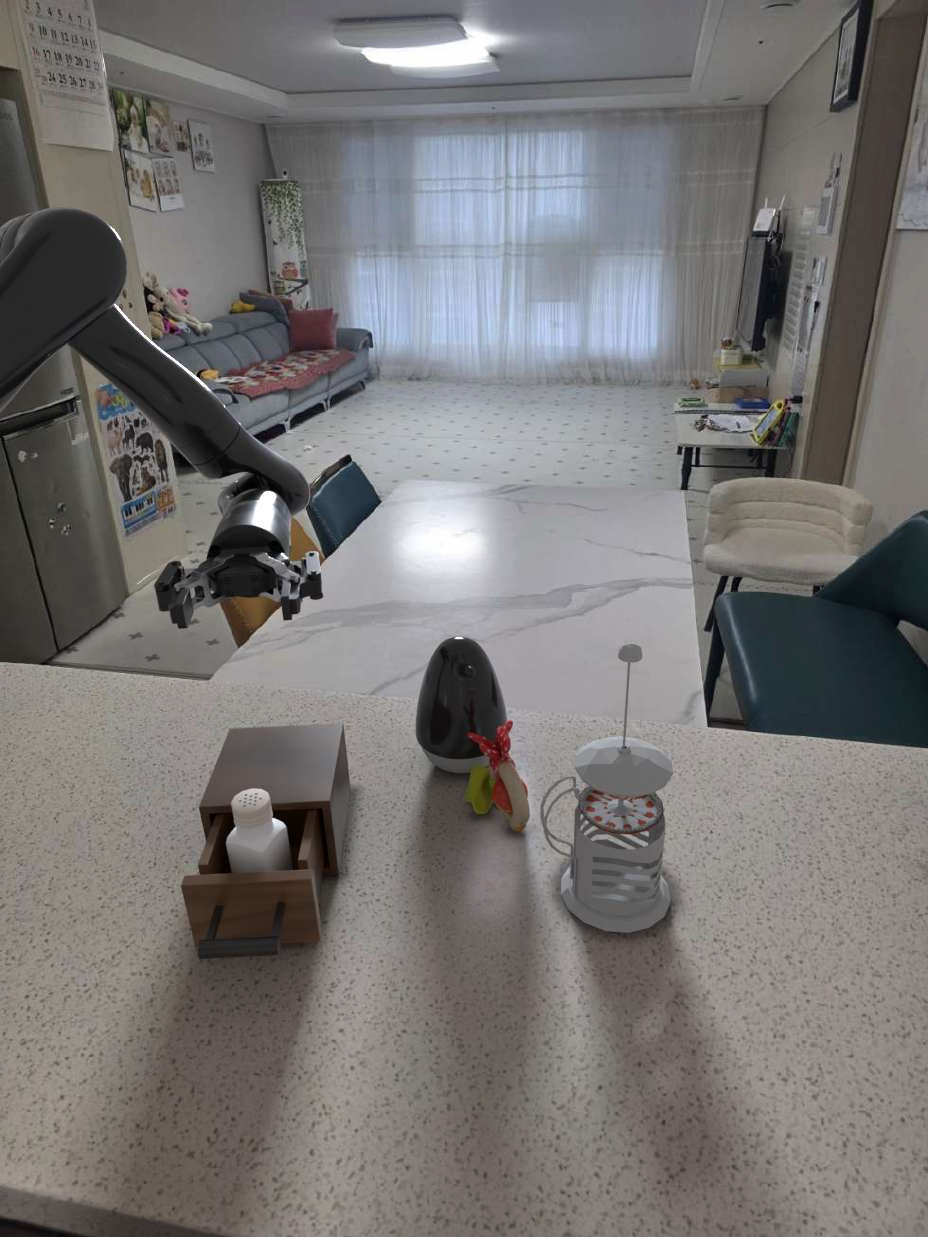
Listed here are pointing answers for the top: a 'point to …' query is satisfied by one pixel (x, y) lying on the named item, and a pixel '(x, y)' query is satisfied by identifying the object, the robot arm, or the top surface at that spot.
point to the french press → (617, 830)
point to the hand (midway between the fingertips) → (234, 614)
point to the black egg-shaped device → (458, 705)
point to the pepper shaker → (257, 835)
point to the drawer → (257, 893)
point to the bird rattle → (498, 780)
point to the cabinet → (286, 776)
